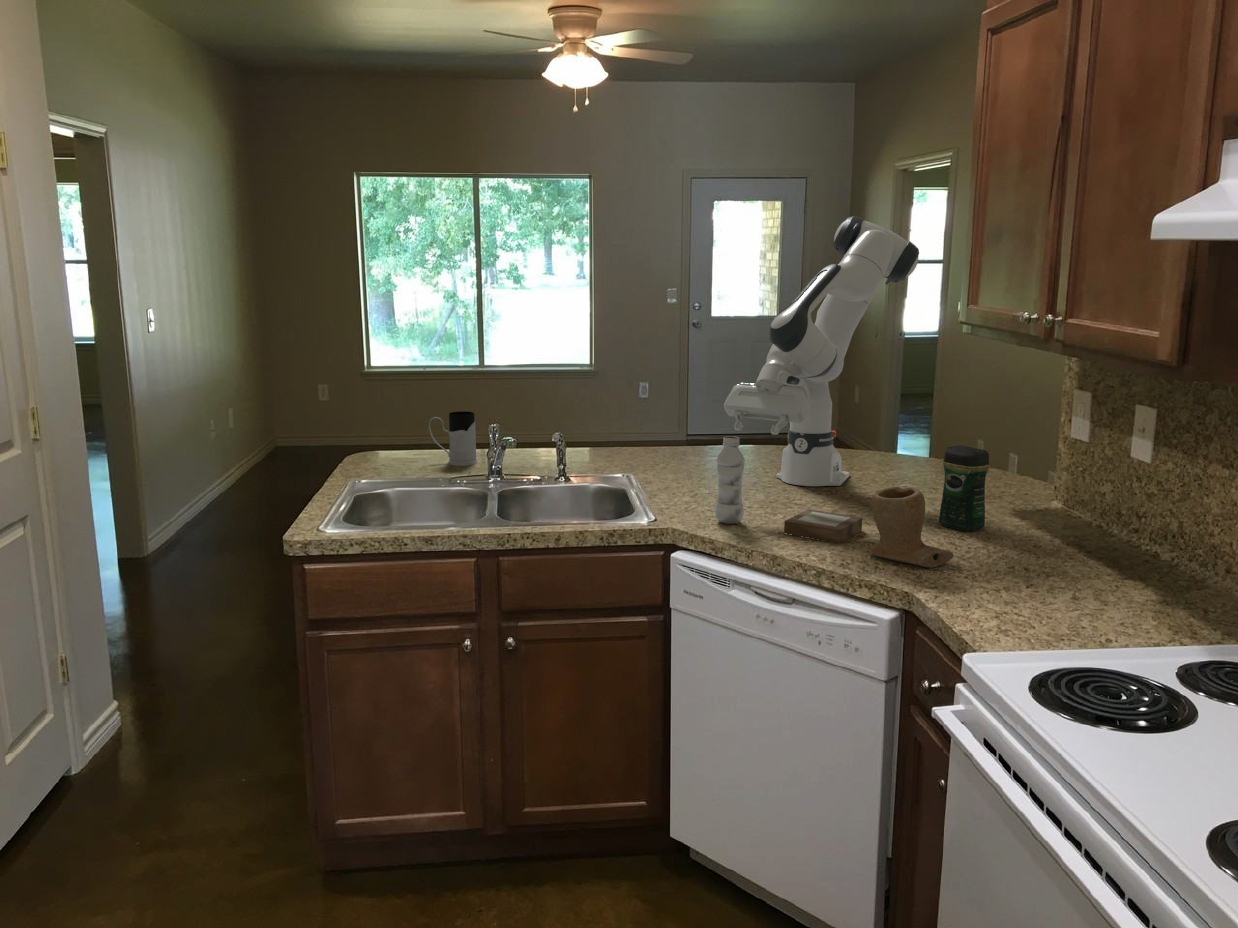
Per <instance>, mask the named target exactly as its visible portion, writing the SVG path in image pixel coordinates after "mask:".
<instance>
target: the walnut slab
mask: <svg viewBox="0 0 1238 928" xmlns="http://www.w3.org/2000/svg"><path fill="white" fill-rule="evenodd" d="M783 524H784V525H783V534H784V533H787V534H792V535H797V536H796V537H798V536H803V537H802V538H804V537H809V538H814V539H813V540H815V539H819V540H818V541H821V540H825V541H824V542H827V541H828V543H833V542H834V544H841V543H843V542H845V541H847V540H848V539H850V538H853V536H855V535H857V534H858V533H860V532H862V530H863V517H861V516H855V515H847V514H841V513H834V512H828V511H821V510H815V509H814V510H813V509H809V508H808V509H806V510H804V511H802V512H799V513H798V514H796V515H794V516H792V517H790V518H788V519H785V520H784V523H783ZM856 533H857V534H856ZM792 535H791V536H792ZM809 538H808V539H809Z"/></svg>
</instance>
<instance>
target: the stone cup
mask: <svg viewBox="0 0 1238 928" xmlns="http://www.w3.org/2000/svg"><path fill="white" fill-rule="evenodd" d="M870 505H871V512H872V516H873V519H874V523H875V525H876V528H877V530H878V534H879V536H880V537H879V542H878V543H876V544H874V545H872V546H870V548H869V550H868V551H869V553H870V554H871V555H874V556H876V557H880V558H882V559H887V560H891V561H896V562H900V563H906V564H909V565H915V566H920V567H925V568H936V567H941V566H942V565H944V564H946V563H949V561H951V560H952V559H953V558H954V552H953V551H949V550H945V549H941V548H938V547H934V546H929V545H926V544H925V543H924V542H923V541H922V530H923V527H924V522H925V521H924V520H925V517H926V500H925V497H924V494H923V493H922V492H921V491H920V490H919V489H918V488H916V487H912V486H911V487H906V488H903V487H899V486H892V487H886V488H883V489H880V490H878V491H876V492H875V493H874V494H873V495H872V497H871V502H870Z"/></svg>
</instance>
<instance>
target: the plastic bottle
mask: <svg viewBox="0 0 1238 928" xmlns="http://www.w3.org/2000/svg"><path fill="white" fill-rule="evenodd" d="M722 446H723V448H722V449H721V450H720V452H719V454H718V455H717V457H716V469H717V477H718V478H717V479H718V482H717V484H718V486H717V487H718V490H717V491H718V492H717V501H716V503H715V504H716V505H715V511H714V513H715V518H716V519H717V521H718V522H719V523H723V524H728V525H729V524H730V525H732V524H739V523H741V521H742V520H743V518H744V505H743V498H742V497H743V496H742V495H743V494H742V492H743V491H742V484H743V475H744V469H745V462H746V461H745V457H744V455H743V453H742V451H741V450H740V449H739V447H740V446H741V444H740V437H738V436H733V435H732V436H729V435H727V436H724V437H723V441H722Z"/></svg>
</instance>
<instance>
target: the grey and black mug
mask: <svg viewBox="0 0 1238 928" xmlns="http://www.w3.org/2000/svg"><path fill="white" fill-rule="evenodd" d="M475 416H476V415H475V412H473V411H464V410H463V411H462V410H460V411H451V412H448V427H449V428H448V429H449V430H446V428H445V423H444V421H443V419H442V418H440V417H438V416H434V417H432V418H430V420H429V423H428V431H429V433H430V436H431V439H432V440H433V442H434V443H435V444H436V445H437V446H438V447H439V448H441V449H442V450H443V451H444V452H446V453H447V455H448V458H449V460H448V462H447V463H448V465H451V466H457V467H458V466H459V467H461V466H462V467H463V466H465V467H467V466H473V465H477V464H478V463H479V462H478V460H477V445H476V443H477V442H476V440H477V439H476V438H477V437H476V436H477V435H476V434H477V433H476V420H475ZM435 419H438V420H439V421H440V422H441V424H442V430H443V431H444V432H446V433H448V448H449V450H447V449H446V448H444V447H443V446H442V445H440V444H439V442H438V441H437V440H436V439H435V437H434V436H433V433H432V429H431V422H432V420H435Z"/></svg>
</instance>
